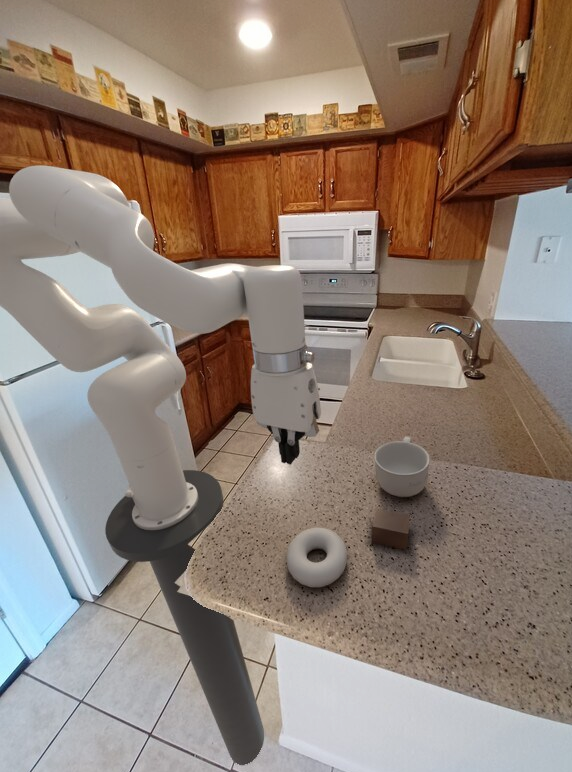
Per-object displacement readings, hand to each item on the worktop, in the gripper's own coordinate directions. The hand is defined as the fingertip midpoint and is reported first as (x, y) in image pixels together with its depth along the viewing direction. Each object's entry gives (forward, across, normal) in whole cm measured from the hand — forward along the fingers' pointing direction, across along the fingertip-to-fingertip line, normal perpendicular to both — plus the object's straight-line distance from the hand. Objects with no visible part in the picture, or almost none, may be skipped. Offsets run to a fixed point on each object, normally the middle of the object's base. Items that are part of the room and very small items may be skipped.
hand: (290, 458), depth 55 cm
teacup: (+15, -17, -17) cm, 28 cm away
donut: (+15, -7, +6) cm, 18 cm away
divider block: (+15, -17, -3) cm, 23 cm away
